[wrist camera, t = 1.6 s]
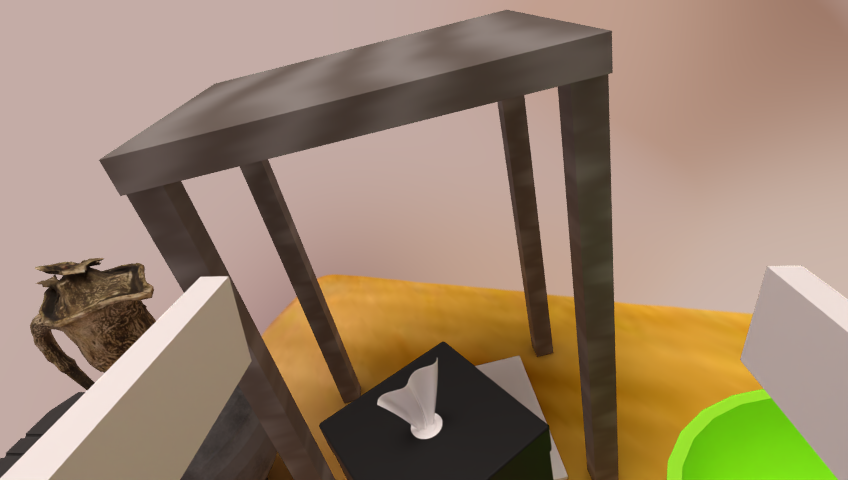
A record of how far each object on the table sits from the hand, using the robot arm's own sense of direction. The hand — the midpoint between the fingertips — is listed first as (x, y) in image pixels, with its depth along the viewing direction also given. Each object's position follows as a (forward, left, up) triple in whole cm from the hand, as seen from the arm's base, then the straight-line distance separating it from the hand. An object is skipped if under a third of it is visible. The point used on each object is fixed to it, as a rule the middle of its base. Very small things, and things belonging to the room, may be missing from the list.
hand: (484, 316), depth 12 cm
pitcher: (+25, -29, -35) cm, 51 cm away
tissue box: (+2, -6, -35) cm, 35 cm away
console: (-1, -25, -35) cm, 43 cm away
